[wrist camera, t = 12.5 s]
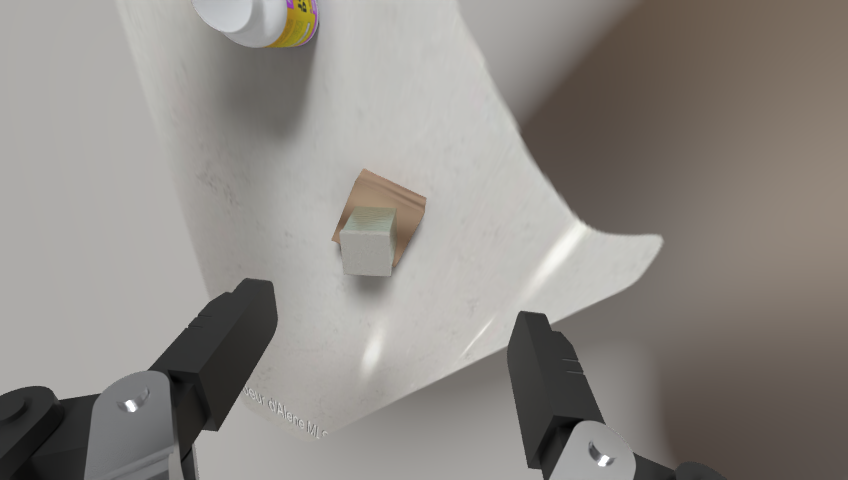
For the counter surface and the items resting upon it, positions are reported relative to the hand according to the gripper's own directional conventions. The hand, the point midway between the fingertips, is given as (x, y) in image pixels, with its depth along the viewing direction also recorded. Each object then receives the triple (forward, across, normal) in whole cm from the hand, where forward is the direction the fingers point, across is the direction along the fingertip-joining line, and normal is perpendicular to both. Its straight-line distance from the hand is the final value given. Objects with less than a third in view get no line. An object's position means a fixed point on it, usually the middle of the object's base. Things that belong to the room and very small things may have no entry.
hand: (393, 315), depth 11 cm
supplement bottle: (+34, +16, -9) cm, 39 cm away
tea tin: (+29, +5, +13) cm, 32 cm away
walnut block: (+34, +5, +13) cm, 37 cm away
